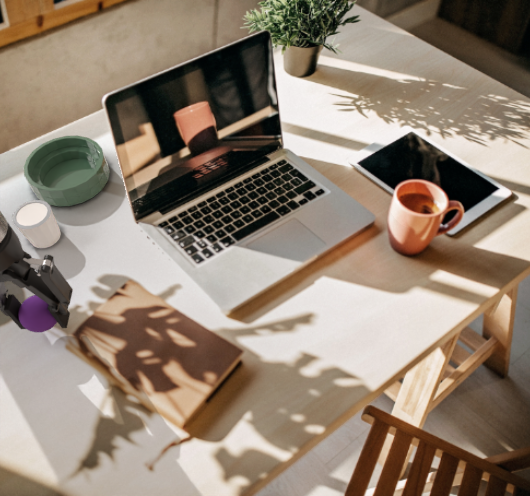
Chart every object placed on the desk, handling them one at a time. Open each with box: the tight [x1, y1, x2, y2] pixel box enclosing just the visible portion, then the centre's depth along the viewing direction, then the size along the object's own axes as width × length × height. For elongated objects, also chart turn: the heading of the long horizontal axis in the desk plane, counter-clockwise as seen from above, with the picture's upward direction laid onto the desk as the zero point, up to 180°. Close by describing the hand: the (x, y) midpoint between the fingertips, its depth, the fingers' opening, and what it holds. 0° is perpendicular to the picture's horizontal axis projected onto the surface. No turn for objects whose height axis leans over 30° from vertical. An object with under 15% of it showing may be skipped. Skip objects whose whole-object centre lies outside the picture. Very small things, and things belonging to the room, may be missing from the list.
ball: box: [18, 294, 58, 333], centre depth 78 cm, size 6×6×6 cm
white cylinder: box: [11, 199, 62, 249], centre depth 92 cm, size 7×7×7 cm
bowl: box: [23, 135, 111, 207], centre depth 101 cm, size 16×16×5 cm
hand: (45, 320), depth 80 cm, fingers closed on ball, 6 cm apart
